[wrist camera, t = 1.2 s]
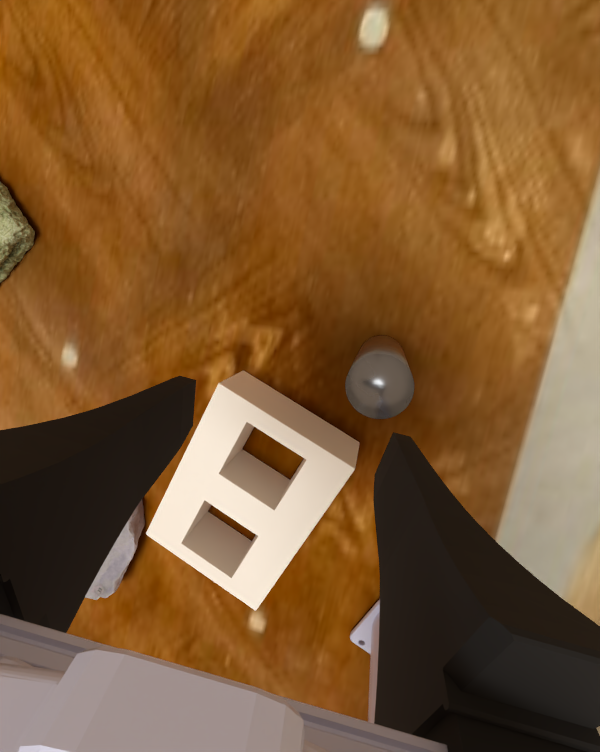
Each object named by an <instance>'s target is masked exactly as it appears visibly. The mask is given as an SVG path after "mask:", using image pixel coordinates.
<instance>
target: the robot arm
mask: <svg viewBox="0 0 600 752" xmlns="http://www.w3.org/2000/svg"><path fill="white" fill-rule="evenodd" d="M195 387H196V380H193V379H190V378H186V377H182V376H178V377H175V378H172V379H170V380H168V381H165V382H163V383H160V384H158V385H156V386H153V387H151V388H149V389H146V390H144V391H141V392H139V393H137V394H134V395H132V396H129V397H127V398H124V399H121V400H118V401H116V402H113V403H110V404H107V405H105V406H102V407H99V408H96V409H93V410H90V411H86V412H83V413H79V414H76V415H72V416H68V417H65V418H61V419H56V420H51V421H47V422H42V423H38V424H33V425H28V426H23V427H18V428H12V429H6V430H0V752H600V736H599V733H598V731H597V729H596V728H597V727H598V726H600V626H598V625H597V624H596V623H594V622H593V621H592V620H590V619H589V618H588V617H586V616H585V615H583V614H582V613H581V612H579V611H578V610H577V609H575V608H574V607H573V606H571V605H570V604H569V603H567V602H566V601H564V600H563V599H562V598H561V597H559V596H558V595H557V594H555V593H554V592H553V591H552V590H551V589H549V588H548V587H547V586H546V585H544V584H543V583H542V582H541V581H539V580H538V579H537V578H536V577H535V576H533V575H532V574H531V573H530V572H529V571H528V570H526V569H525V568H524V567H523V566H522V565H521V564H519V563H518V562H517V561H516V560H515V559H514V558H513V557H512V556H511V555H510V554H509V553H507V552H506V551H505V550H504V549H503V548H502V547H501V546H500V545H499V544H498V543H497V542H496V541H495V540H494V539H493V538H492V537H491V536H490V535H489V534H488V533H487V532H486V531H485V530H484V529H483V528H482V527H481V526H480V525H479V524H478V523H477V522H476V521H475V520H474V519H473V518H472V517H471V515H470V514H469V513H468V512H467V511H466V510H465V509H464V507H463V506H462V505H461V504H460V503H459V501H458V500H457V499H456V498H455V497H454V495H453V494H452V493H451V492H450V490H449V489H448V488H447V487H446V485H445V484H444V483H443V481H442V480H441V479H440V477H439V476H438V475H437V473H436V472H435V471H434V469H433V468H432V466H431V465H430V464H429V462H428V461H427V459H426V458H425V457H424V455H423V454H422V452H421V451H420V449H419V448H418V447H417V445H416V444H415V442H414V441H413V440H412V438H411V437H409V436H405V435H401V434H398V433H394V432H393V434H392V436H391V439H390V441H389V443H388V445H387V448H386V450H385V452H384V455H383V457H382V459H381V462H380V464H379V466H378V468H377V471H376V473H375V481H374V511H375V522H376V533H377V544H378V554H379V567H380V599H379V600H378V601H377V603H376V604H375V605H374V606H373V607H372V608H371V609H370V611H369V612H368V613H367V614H366V615H365V616H364V618H363V619H362V620H361V621H360V622H359V623H358V624H357V626H356V627H355V628H354V629H353V630H352V631H351V633H350V639H351V641H352V642H353V643H355V644H356V645H358V646H359V647H361V648H362V649H364V650H365V651H366V652H368V653H369V654H371V658H370V683H369V708H368V722H367V721H363V720H360V719H356V718H353V717H350V716H346V715H343V714H339V713H336V712H333V711H329V710H326V709H322V708H319V707H316V706H312V705H309V704H305V703H302V702H299V701H295V700H292V699H288V698H285V697H282V696H278V695H275V694H271V693H269V692H266V691H264V690H262V689H259V688H257V687H253V686H250V685H247V684H243V683H240V682H236V681H233V680H229V679H226V678H223V677H219V676H216V675H212V674H209V673H206V672H202V671H199V670H195V669H192V668H189V667H185V666H182V665H178V664H175V663H172V662H168V661H165V660H161V659H158V658H154V657H151V656H148V655H144V654H141V653H137V652H134V651H131V650H126V649H120V648H115V647H111V646H108V645H104V644H101V643H98V642H94V641H91V640H87V639H84V638H81V637H77V636H74V635H70V634H67V633H66V632H67V630H68V628H69V627H70V625H71V623H72V621H73V619H74V617H75V615H76V613H77V611H78V609H79V607H80V605H81V603H82V601H83V599H84V598H85V596H86V594H87V592H88V590H89V588H90V587H91V585H92V583H93V581H94V579H95V577H96V576H97V574H98V572H99V570H100V568H101V566H102V565H103V563H104V561H105V559H106V558H107V556H108V554H109V552H110V551H111V549H112V547H113V545H114V544H115V542H116V540H117V538H118V537H119V535H120V533H121V532H122V530H123V528H124V527H125V525H126V523H127V522H128V520H129V518H130V517H131V515H132V514H133V512H134V510H135V509H136V507H137V506H138V504H139V503H140V501H141V500H142V498H143V497H144V496H145V494H146V493H147V492H148V490H149V489H150V488H151V486H152V485H153V484H154V482H155V481H156V480H157V478H158V477H159V476H160V475H161V473H162V472H163V471H164V469H165V468H166V467H167V465H168V464H169V463H170V461H171V460H172V459H173V457H174V456H175V454H176V453H177V452H178V450H179V449H180V447H181V446H182V444H183V442H184V441H185V439H186V437H187V435H188V433H189V431H190V430H191V428H192V426H193V414H194V400H195ZM361 640H362V641H361Z"/></svg>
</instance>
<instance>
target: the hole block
mask: <svg viewBox="0 0 600 752" xmlns="http://www.w3.org/2000/svg"><path fill="white" fill-rule="evenodd" d="M254 427H256V428H257V429H259V430H261V431H262V432H264V433H265V434H267V435H268V436H270V437H272V438H273V439H275V440H276V441H278V442H279V443H281V444H283V445H284V446H286V447H287V448H289V449H290V450H292V451H294V452H295V453H297V454H298V455H300V456H301V457H303V458H304V459H303V461H302V462H301V464H300V466H299V467H298V469H297V470H296V472H295V474H294V475H293V477H292V478H291V480H289V479H288V478H286V477H285V476H283V475H282V474H280V473H279V472H277V471H275V470H274V469H272V468H271V467H269V466H268V465H266V464H265V463H263V462H261V461H260V460H258V459H257V458H255V457H254V456H252V455H251V454H249V453H248V452H246V451H244V450H243V449H242V448H243V446H244V445H245V443H246V441H247V439H248V437H249V436H250V434H251V432H252V430H253V428H254ZM359 444H360V442H358V441H357V440H355V439H353V438H352V437H350V436H349V435H347V434H345V433H344V432H342V431H341V430H339V429H337V428H336V427H334V426H332V425H331V424H329V423H328V422H326V421H324V420H323V419H321V418H320V417H318V416H316V415H315V414H313V413H312V412H310V411H308V410H307V409H305V408H303V407H302V406H300V405H299V404H297V403H295V402H294V401H292V400H291V399H289V398H287V397H286V396H284V395H282V394H281V393H279V392H278V391H276V390H274V389H273V388H271V387H270V386H268V385H266V384H265V383H263V382H261V381H260V380H258V379H257V378H255V377H253V376H252V375H250V374H249V373H247V372H245V371H244V370H243V371H242V372H240V373H238V374H236V375H234V376H232V377H230V378H228V379H226V380H224V381H222V382H220V383H219V384H218V386H217V388H216V390H215V392H214V394H213V396H212V398H211V400H210V402H209V404H208V406H207V408H206V411H205V413H204V415H203V417H202V419H201V421H200V423H199V425H198V427H197V429H196V431H195V433H194V435H193V437H192V439H191V442H190V444H189V446H188V448H187V450H186V452H185V454H184V456H183V458H182V460H181V462H180V464H179V466H178V468H177V470H176V472H175V475H174V477H173V479H172V481H171V483H170V485H169V487H168V489H167V491H166V493H165V495H164V497H163V499H162V501H161V503H160V506H159V508H158V510H157V512H156V514H155V516H154V518H153V520H152V522H151V524H150V526H149V528H148V530H147V532H146V535H148V536H149V537H151V538H152V539H153V540H155V541H156V542H158V543H159V544H161V545H162V546H163V547H165V548H166V549H168V550H169V551H171V552H172V553H173V554H175V555H176V556H178V557H179V558H181V559H182V560H184V561H185V562H186V563H188V564H189V565H191V566H192V567H194V568H195V569H196V570H198V571H199V572H201V573H202V574H204V575H205V576H207V577H208V578H209V579H211V580H212V581H214V582H215V583H217V584H218V585H219V586H221V587H222V588H224V589H225V590H227V591H228V592H229V593H231V594H232V595H234V596H235V597H237V598H238V599H240V600H241V601H242V602H244V603H245V604H247V605H248V606H250V607H251V608H252V609H254V610H255V611H256V610H257V608H258V607H259V605H260V604H261V603H262V601H263V600H264V598H265V597H266V595H267V594H268V593H269V591H270V590H271V588H272V587H273V585H274V584H275V583H276V581H277V580H278V578H279V577H280V575H281V574H282V573H283V571H284V570H285V568H286V567H287V565H288V564H289V563H290V561H291V560H292V558H293V557H294V555H295V554H296V553H297V551H298V550H299V548H300V547H301V545H302V544H303V543H304V541H305V540H306V538H307V537H308V536H309V534H310V533H311V531H312V530H313V528H314V527H315V526H316V524H317V523H318V521H319V520H320V518H321V517H322V516H323V514H324V513H325V511H326V510H327V508H328V507H329V506H330V504H331V503H332V501H333V500H334V498H335V497H336V496H337V494H338V493H339V491H340V490H341V488H342V487H343V486H344V484H345V483H346V481H347V480H348V478H349V477H350V476H351V474H352V473H353V471H354V470H355V467H356V461H357V456H358V450H359ZM211 505H213V506H214V507H216V508H217V509H219V510H220V511H222V512H223V513H224V514H226V515H227V516H229V517H230V518H232V519H233V520H235V521H236V522H238V523H239V524H241V525H242V526H244V527H245V528H247V529H248V530H250V531H251V532H253V533H254V534H256V535H255V537H254V539H253V540H252V541H251V540H249V539H248V538H246V537H245V536H244V535H242V534H241V533H239V532H238V531H236V530H235V529H233V528H232V527H230V526H229V525H227V524H226V523H224V522H223V521H221V520H220V519H218V518H217V517H215V516H214V515H212V514H211V513H209V512H208V510H209V508H210V506H211Z"/></svg>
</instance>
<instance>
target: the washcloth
mask: <svg viewBox="0 0 600 752" xmlns="http://www.w3.org/2000/svg"><path fill="white" fill-rule="evenodd" d="M34 236H35V231H34V230H33V228H32V227H31V226H30V225H28V221H27V219H26V217H24V216H23V214H22V212H21V211H20V209H19V208H18V207H17V206H16V203H15V202H14V199H12V197H11V195H10V193H9V191H8V188H7V187H6V186H5V185H3V184H2V183H1V182H0V283H1V282H2V281H3V280H5V279H6V278H7V276H8V275H10V274H9V272H10V271H11V270H12V269H13V267H14V266H15V265H17V262H20V261H21V260H22V258H23V257H24V255H25V253H26V251H28V250H29V249H31V247H32V246H33V245H34Z"/></svg>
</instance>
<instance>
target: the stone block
mask: <svg viewBox="0 0 600 752" xmlns="http://www.w3.org/2000/svg"><path fill="white" fill-rule="evenodd" d="M144 526H145V519H144V509H143V502H142V500H141V501H140V503H139V504H138V506H137V507H136V509H135V510H134V512H133V514H132V515H131V517H130V518H129V520H128V522H127V523H126V525H125V527H124V528H123V530H122V532H121V533H120V535H119V537H118V538H117V540H116V542H115V544H114V545H113V547H112V549H111V551H110V552H109V554H108V556H107V558H106V559H105V561H104V563H103V565H102V566H101V568H100V570H99V572H98V574H97V576H96V577H95V579H94V581H93V583H92V585H91V587H90V588H89V590H88V592H87V594H86V596H85V598H91V599H94V600H97V599H98V598H99V597H103V598H107V597H108V596H110V595H111V594H113V593H115V591H116V590H117V589H118V587H119V585H120V582H121V581H122V578H123V575H124V573H125V572H126V570H127V567H128V565H129V563H130V561H131V560H132V558H133V556H134V553H135V551H136V549H137V546H138V539H139V537H140V535H141V532H142V529H143V528H144Z"/></svg>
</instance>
